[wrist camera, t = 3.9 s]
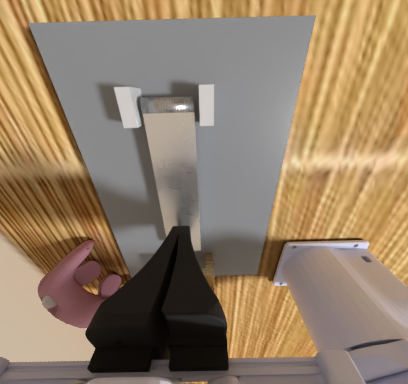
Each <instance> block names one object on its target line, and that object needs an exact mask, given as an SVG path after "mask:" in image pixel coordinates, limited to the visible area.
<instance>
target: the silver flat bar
mask: <svg viewBox="0 0 408 384" xmlns="http://www.w3.org/2000/svg"><path fill="white" fill-rule="evenodd" d="M140 105H141V111H142V114H143V119H144V124H145V129H146V134H147V139H148V145H149V150H150V155H151V160H152V165H153V171H154V176H155V181H156V186H157V191H158V197H159V202H160V207H161V212H162V217H163V223H164V228H165V233H166V237H167V235H168V234H169V232H170V230H171V228H172V227H173V226H190V231H191V242H192V246H193V249H194V251H201V234H200V212H199V190H198V168H197V146H196V124H195V102H194V96H188V97H151V98H141V100H140Z"/></svg>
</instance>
